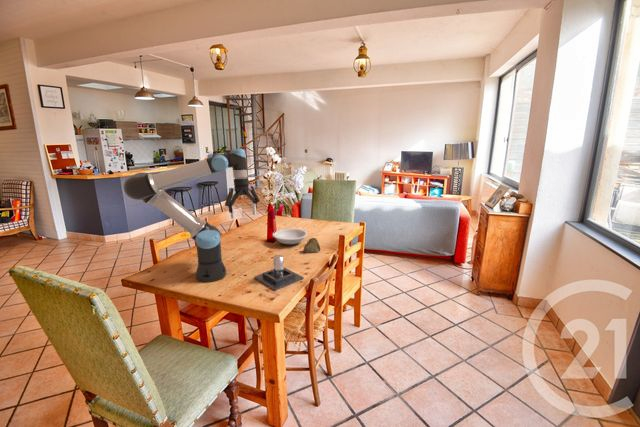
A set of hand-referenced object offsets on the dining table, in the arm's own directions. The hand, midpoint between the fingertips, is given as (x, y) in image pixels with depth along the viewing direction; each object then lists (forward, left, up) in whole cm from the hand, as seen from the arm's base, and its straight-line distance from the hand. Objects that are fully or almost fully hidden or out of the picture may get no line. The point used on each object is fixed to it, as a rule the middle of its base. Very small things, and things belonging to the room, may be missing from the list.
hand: (244, 216), depth 167 cm
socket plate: (+2, -28, -28) cm, 40 cm away
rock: (+40, -11, -28) cm, 51 cm away
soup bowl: (+40, +11, -28) cm, 50 cm away
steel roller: (+2, -28, -27) cm, 39 cm away
